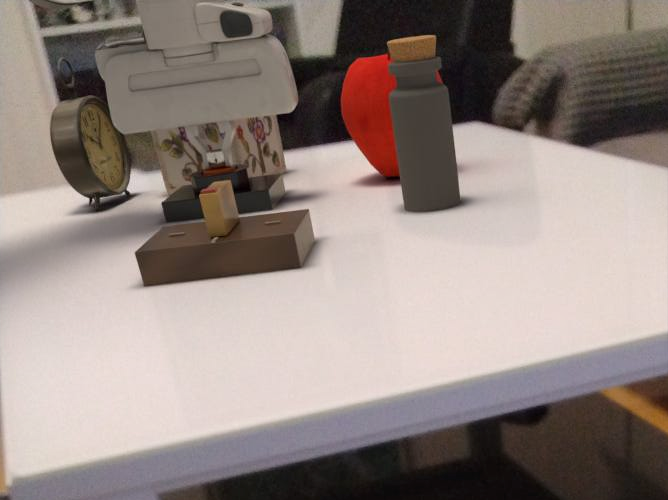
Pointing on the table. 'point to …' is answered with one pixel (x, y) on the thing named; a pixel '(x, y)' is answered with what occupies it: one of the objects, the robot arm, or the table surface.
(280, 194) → the button base
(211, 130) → the decorative jar
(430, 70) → the bottle
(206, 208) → the tan rectangular block
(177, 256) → the plate
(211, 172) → the bell button
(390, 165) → the apple
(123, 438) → the table surface
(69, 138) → the alarm clock
